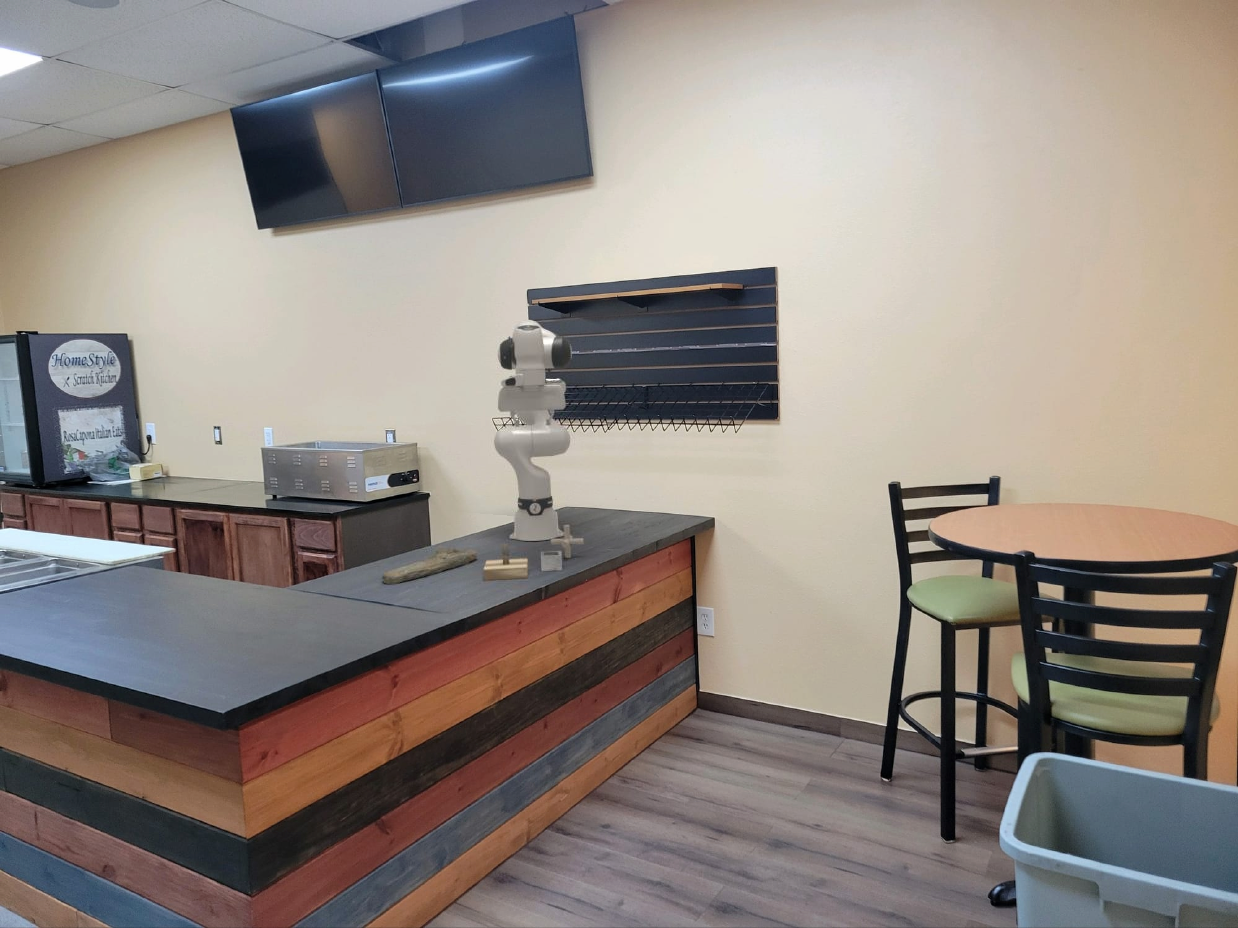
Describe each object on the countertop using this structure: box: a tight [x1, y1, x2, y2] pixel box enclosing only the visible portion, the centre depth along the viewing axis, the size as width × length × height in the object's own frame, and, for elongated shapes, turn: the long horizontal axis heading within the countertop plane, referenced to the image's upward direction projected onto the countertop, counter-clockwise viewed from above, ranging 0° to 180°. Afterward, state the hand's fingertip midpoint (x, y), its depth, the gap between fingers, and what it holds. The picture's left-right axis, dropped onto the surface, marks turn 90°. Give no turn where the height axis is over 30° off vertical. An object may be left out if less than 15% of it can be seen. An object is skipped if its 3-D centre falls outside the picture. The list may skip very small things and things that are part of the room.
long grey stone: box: [381, 546, 478, 585], centre depth 253 cm, size 35×5×10 cm
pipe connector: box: [550, 524, 585, 559], centre depth 263 cm, size 10×10×10 cm
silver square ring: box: [540, 550, 563, 572], centre depth 250 cm, size 6×6×4 cm
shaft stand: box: [483, 543, 529, 581], centre depth 245 cm, size 12×12×8 cm
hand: (532, 425), depth 257 cm, fingers open, 8 cm apart
